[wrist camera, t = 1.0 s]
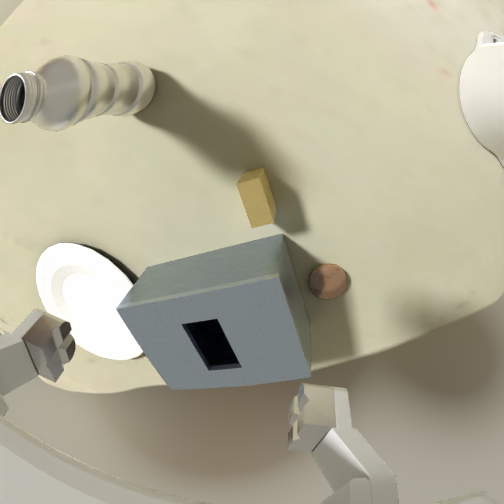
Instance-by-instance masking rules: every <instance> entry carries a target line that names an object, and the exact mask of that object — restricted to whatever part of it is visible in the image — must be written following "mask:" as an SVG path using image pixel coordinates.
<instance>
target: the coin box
mask: <svg viewBox="0 0 504 504" xmlns="http://www.w3.org/2000/svg"><path fill="white" fill-rule="evenodd" d="M116 310H117V312H118V313H119V315H120V317H121V318H122V320H123V322H124V323H125V325H126V326H127V328H128V329H129V331H130V332H131V334H132V335H133V337H134V339H135V340H136V342H137V343H138V345H139V346H140V347H141V349H142V350H143V352H144V353H145V355H146V356H147V358H148V359H149V361H150V362H151V363H152V365H153V366H154V368H155V369H156V370H157V372H158V373H159V374H160V376H161V377H162V379H163V380H164V381H165V383H166V384H167V385H168V386H169V388H170V389H200V388H217V387H232V386H243V385H253V384H263V383H271V382H279V381H287V380H294V379H301V378H307V377H311V349H310V324H309V320H308V317H307V313H306V310H305V306H304V303H303V299H302V296H301V292H300V289H299V286H298V282H297V279H296V275H295V272H294V269H293V265H292V262H291V259H290V256H289V252H288V249H287V246H286V242H285V239H284V236H283V234H279V235H275V236H271V237H267V238H263V239H259V240H255V241H251V242H247V243H243V244H239V245H235V246H231V247H227V248H223V249H219V250H215V251H211V252H207V253H203V254H199V255H195V256H191V257H187V258H183V259H179V260H175V261H171V262H167V263H163V264H159V265H155V266H151V267H147V269H146V270H145V271H144V272H143V274H142V275H141V276H140V277H139V279H138V280H137V281H136V283H135V284H134V285H133V287H132V288H131V289H130V291H129V292H128V293H127V294H126V296H125V297H124V298H123V300H122V301H121V302H120V304H119V305H118V306H117V308H116Z"/></svg>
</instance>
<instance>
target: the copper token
mask: <svg viewBox="0 0 504 504" xmlns="http://www.w3.org/2000/svg"><path fill="white" fill-rule="evenodd" d="M309 286H310V290H311V292H312V293H313V294H314V295H315V296H317V297H318V298H321V299H333V298H336V297H338V296H340V295H341V294H342V293H343V292H344V291H345V289H346V286H347V278H346V274H345V272H344V270H343V269H342V268H341V267H339V266H337V265H335V264H323V265H320V266H318V267H317V268H315V269H314V270H313V271H312V273H311V275H310V278H309Z"/></svg>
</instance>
